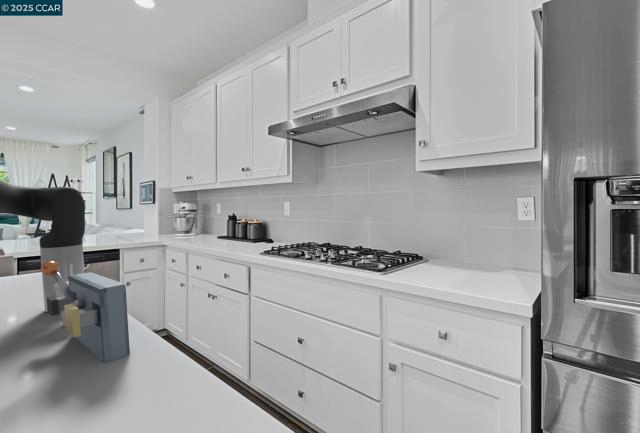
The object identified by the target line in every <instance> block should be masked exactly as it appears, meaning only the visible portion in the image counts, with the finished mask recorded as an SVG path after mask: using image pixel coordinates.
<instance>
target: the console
mask: <svg viewBox="0 0 640 433" xmlns="http://www.w3.org/2000/svg"><path fill="white" fill-rule="evenodd" d="M68 277H69V288H70V289H71V290H72V292H73V293H74V294H75V296H76V297H77V298H78V299H80V300H82V301H83V302H84V306H83V308H81V309H85V308H89V307H95V308H97V309H98V316H99V322H98V323H95V324H91V325H87V326H83V327H80V331H81V336H78V337H74V339H76V340H77V341H78V342H79V343H80V344H81V345H83V346H84V347H85V348H87V350H89V351H90V352H91V353H92V354H94V355H95V356H96V357H97V358H98V359H99V360H100V361H102V362H103V363H104V364H106V363H109V362H112V361H114V360H117V359H122V358H123V357H126V356H129V355H131V351H130V339H129V338H130V336H129V332H130V331H129V321H128V320H129V318H128V317H129V316H128V302H127V290H126V289H127V287H126V283H124V282H120V281H118V280H115V279H111V278H109V277H105V276H102V275H100V274H98V273H95V272H88V271H87V272H85V273H82V274H76V275H70V276H68ZM81 309H80V310H81Z"/></svg>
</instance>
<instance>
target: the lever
mask: <svg viewBox="0 0 640 433" xmlns="http://www.w3.org/2000/svg"><path fill="white" fill-rule="evenodd" d="M40 266H41V265H40ZM59 268H60V267H59V264H58V263H57V262H54V261H48V262H45V263H44V264H43V265H42V266H41V267H40V271H41V274H42V273H43V274H45V275H48V276H51V277H52V278H53V280H54V281H55V282H56V284H57V285H58V286H59V288H60V289H61V290H62V292H63V293H64V294H65V296H66V297H67V298H68V300H69V301H70V302H69V304H72V305H74V306H76V307H77V308H79V310H80V309H81V308H83V306H84V302H83V301H82V300H80V299H78V298H77V297H76V296H75V294H74V293H73V292H72V290H71V289H70V288H69V286H68V285H67V283H66V282H65V281H64V279H63V278H62V277H61V275H60V274H59V272H58V271H59Z"/></svg>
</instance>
